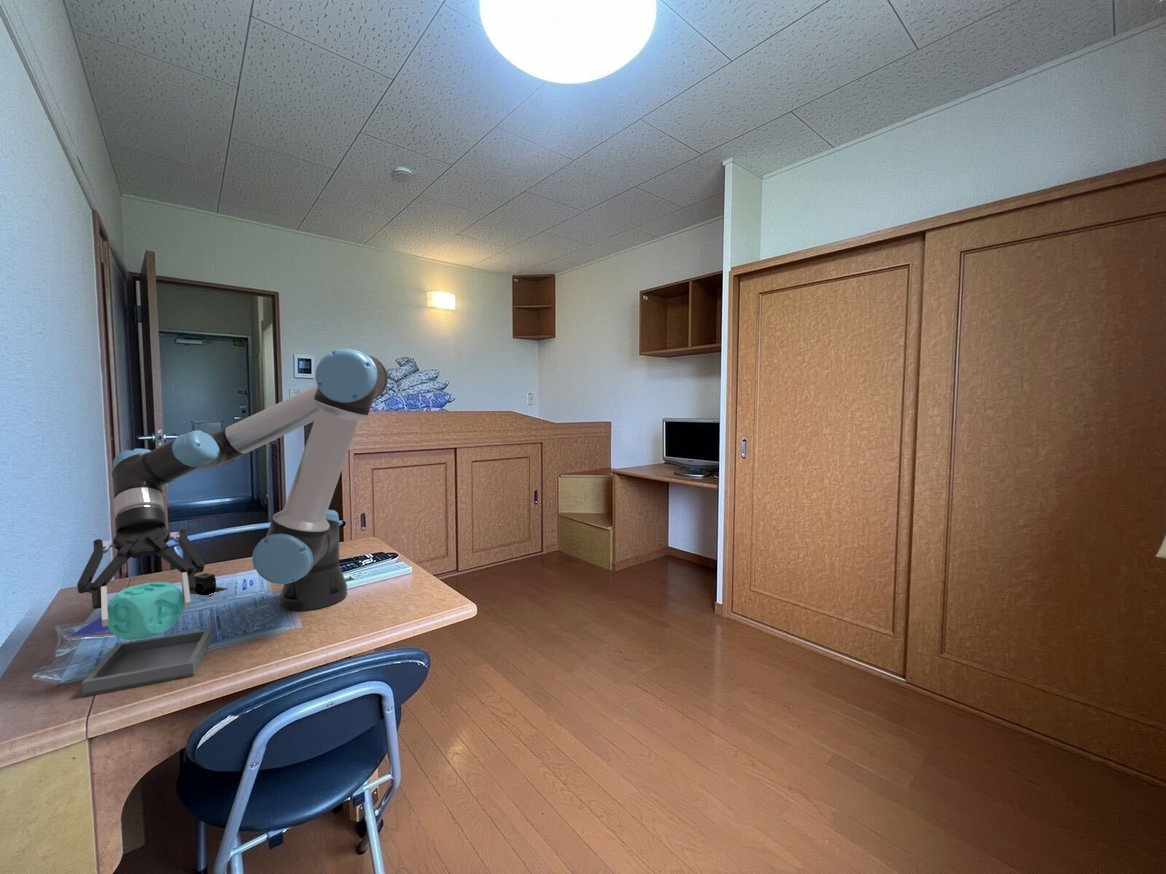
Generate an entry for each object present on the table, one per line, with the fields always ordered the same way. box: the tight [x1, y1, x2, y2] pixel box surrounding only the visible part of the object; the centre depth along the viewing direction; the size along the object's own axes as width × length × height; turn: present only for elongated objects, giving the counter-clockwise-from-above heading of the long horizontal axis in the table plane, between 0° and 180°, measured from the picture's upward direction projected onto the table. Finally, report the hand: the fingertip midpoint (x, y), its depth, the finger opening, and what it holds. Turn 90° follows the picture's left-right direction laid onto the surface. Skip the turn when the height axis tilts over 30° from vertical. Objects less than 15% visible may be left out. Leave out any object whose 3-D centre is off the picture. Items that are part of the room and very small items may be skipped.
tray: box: [81, 628, 213, 698], centre depth 92 cm, size 15×15×2 cm
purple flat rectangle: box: [65, 616, 114, 640], centre depth 107 cm, size 2×8×12 cm
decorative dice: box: [107, 581, 185, 641], centre depth 91 cm, size 8×8×8 cm
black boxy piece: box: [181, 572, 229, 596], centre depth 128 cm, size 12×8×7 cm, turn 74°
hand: (148, 613), depth 89 cm, fingers closed on decorative dice, 11 cm apart
